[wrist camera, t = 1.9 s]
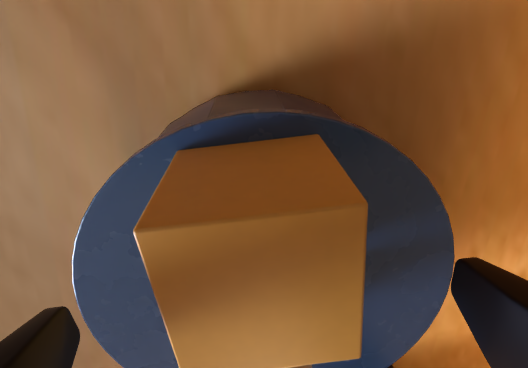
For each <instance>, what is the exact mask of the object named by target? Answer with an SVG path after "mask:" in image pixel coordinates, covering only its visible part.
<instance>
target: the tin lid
mask: <svg viewBox="0 0 528 368" xmlns="http://www.w3.org/2000/svg"><path fill="white" fill-rule="evenodd" d="M314 134H318V135H319V136H320V137H321V138H322V140H323V141H324V143H325V144H326V145H327V147H328V148H329V149H330V151H331V152H332V154H333V155H334V156H335V158H336V159H337V161H338V162H339V163H340V165H341V166H342V168H343V169H344V170H345V172H346V173H347V175H348V176H349V177H350V179H351V180H352V182H353V183H354V184H355V186H356V187H357V189H358V190H359V191H360V193H361V194H362V196H363V197H364V198H365V200H366V201H367V203H368V217H367V239H366V262H365V284H364V306H363V329H362V351H361V358H359V359H352V360H343V361H335V362H327V363H318V364H310V365H302V366H294V367H285V368H388V367H389V366H391V365H392V364H393V363H394V362H396V361H397V360H398V359H399V358H401V357H402V356H403V355H404V354H405V353H406V352H407V351H408V350H409V349H410V348H411V347H413V346H414V345H415V344H416V343H417V342H418V340H419V339H420V338H421V337H422V335H423V334H424V333H425V332H426V330H427V329H428V328H429V327H430V325H431V324H432V322H433V320H434V319H435V317H436V315H437V314H438V312H439V311H440V308H441V306H442V304H443V302H444V299H445V297H446V295H447V292H448V289H449V285H450V281H451V278H452V273H453V264H454V240H453V233H452V229H451V225H450V220H449V216H448V214H447V212H446V209H445V207H444V205H443V202H442V200H441V198H440V196H439V194H438V193H437V191H436V190H435V188H434V187H433V185H432V183H431V182H430V180H429V179H428V177H427V176H426V175H425V174H424V173H423V172H422V171H421V170H420V169H419V168H418V167H417V166H416V165H415V164H414V162H413V161H412V160H411V159H409V158H408V157H407V156H405V155H404V154H403V153H402V152H400V151H399V150H398V149H396V148H395V147H394V146H392V145H391V144H390V143H389V142H387V141H386V140H384V139H383V138H381V137H379V136H377V135H375V134H373V133H372V132H370V131H368V130H366V129H364V128H363V127H360V126H358V125H355V124H352V123H350V122H347V121H344V120H342V119H339V118H336V117H332V116H328V115H323V114H319V113H314V112H310V111H304V110H292V109H279V108H269V109H249V110H240V111H235V112H229V113H224V114H218V115H213V116H210V117H207V118H204V119H201V120H198V121H195V122H192V123H189V124H186V125H183V126H181V127H179V128H177V129H175V130H173V131H171V132H169V133H167V134H165V135H163V136H161V137H159V138H157V139H155V140H154V141H152V142H151V143H149V144H148V145H147V146H145V147H144V148H142V149H141V150H139V151H138V152H136V153H135V154H134V155H132V156H131V157H130V158H129V159H128V160H127V161H126V162H125V163H124V164H123V165H122V166H120V167H119V168H118V169H117V170H116V171H115V172H114V173H113V174H112V175H111V176H110V178H109V179H108V180H107V181H106V183H105V184H104V185H103V186H102V188H101V189H100V190H99V191H98V193H97V194H96V195H95V197H94V198H93V200H92V202H91V203H90V205H89V207H88V209H87V211H86V213H85V214H84V216H83V218H82V221H81V224H80V227H79V230H78V233H77V236H76V238H75V244H74V250H73V257H72V281H73V287H74V292H75V296H76V301H77V304H78V306H79V309H80V311H81V314H82V316H83V319H84V321H85V323H86V324H87V326H88V328H89V329H90V331H91V333H92V334H93V336H94V337H95V339H96V340H97V341H98V342H99V344H100V345H101V346H102V347H103V349H104V350H105V351H106V352H107V353H108V354H109V355H110V356H111V357H112V358H113V359H114V360H115V361H117V362H118V363H119V364H120V365H121V366H122V367H124V368H179V366H178V363H177V360H176V357H175V354H174V351H173V348H172V345H171V342H170V339H169V336H168V334H167V331H166V328H165V325H164V322H163V319H162V316H161V313H160V310H159V307H158V304H157V301H156V298H155V295H154V292H153V290H152V287H151V284H150V281H149V278H148V275H147V272H146V269H145V266H144V263H143V260H142V257H141V254H140V251H139V249H138V246H137V243H136V240H135V237H134V234H133V230H134V228H135V226H136V224H137V222H138V220H139V219H140V217H141V215H142V213H143V211H144V210H145V208H146V206H147V204H148V203H149V201H150V199H151V197H152V195H153V194H154V192H155V190H156V188H157V186H158V185H159V183H160V181H161V179H162V177H163V176H164V174H165V172H166V170H167V168H168V167H169V165H170V163H171V161H172V159H173V158H174V156H175V154H176V152H177V151H179V150H186V149H195V148H203V147H212V146H220V145H229V144H237V143H246V142H254V141H263V140H271V139H280V138H289V137H297V136H306V135H314Z"/></svg>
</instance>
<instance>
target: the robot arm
mask: <svg viewBox="0 0 528 368" xmlns="http://www.w3.org/2000/svg"><path fill="white" fill-rule="evenodd" d="M451 292H452V295H453V297H454V299H455V301H456V303H457V305H458V307H459V309H460V311H461V313H462V315H463V317H464V318H465V320H466V322H467V324H468V326H469V328H470V330H471V332H472V334H473V336H474V338H475V339H476V341H477V343H478V345H479V347H480V349H481V351H482V353H483V354H484V356H485V358H486V360H487V362H488V363H489V365H490V366H491V368H528V281H527V280H525V279H523V278H521V277H519V276H517V275H514V274H512V273H510V272H508V271H506V270H504V269H501V268H499V267H497V266H495V265H493V264H491V263H488V262H486V261H484V260H482V259H480V258H476V257H472V258H463V259H459V260H457V262H456V263H455V267H454V272H453V277H452V282H451ZM79 341H80V332H79V329H78V327H77V325H76V323H75V321H74V319H73V317H72V315H71V313H70V311H69V310H68V309H67V308H66V307H63V306H62V307H53V308H47V309H45V310H43V311H42V312H40V313H39V314H37V315H36V316H35V317H33V318H32V319H31V320H29V321H28V322H27V323H25V324H24V325H22V326H21V327H20V328H18V329H17V330H16V331H14V332H13V333H12V334H10V335H9V336H7V337H6V338H5V339H3V340H2V341H1V342H0V368H72V365H73V361H74V358H75V355H76V351H77V348H78V345H79ZM388 368H393V366H392V365H391V366H389V367H388Z"/></svg>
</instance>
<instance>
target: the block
mask: <svg viewBox="0 0 528 368" xmlns="http://www.w3.org/2000/svg"><path fill="white" fill-rule="evenodd" d="M367 217H368V203H367V201H366V200H365V198H364V197H363V196H362V194H361V193H360V191H359V190H358V189H357V187H356V186H355V184H354V183H353V182H352V180H351V179H350V177H349V176H348V175H347V173H346V172H345V170H344V169H343V168H342V166H341V165H340V163H339V162H338V161H337V159H336V158H335V156H334V155H333V154H332V152H331V151H330V149H329V148H328V147H327V145H326V144H325V143H324V141H323V140H322V138H321V137H320V136H319V135H318V134H314V135H306V136H297V137H289V138H280V139H271V140H263V141H254V142H246V143H237V144H229V145H220V146H212V147H203V148H195V149H186V150H179V151H177V152H176V154H175V156H174V158H173V159H172V161H171V163H170V165H169V167H168V168H167V170H166V172H165V174H164V176H163V177H162V179H161V181H160V183H159V185H158V186H157V188H156V190H155V192H154V194H153V195H152V197H151V199H150V201H149V203H148V204H147V206H146V208H145V210H144V211H143V213H142V215H141V217H140V219H139V220H138V222H137V224H136V226H135V228H134V230H133V234H134V237H135V240H136V243H137V246H138V249H139V251H140V254H141V257H142V260H143V263H144V266H145V269H146V272H147V275H148V278H149V281H150V284H151V287H152V290H153V292H154V295H155V298H156V301H157V304H158V307H159V310H160V313H161V316H162V319H163V322H164V325H165V328H166V331H167V334H168V336H169V339H170V342H171V345H172V348H173V351H174V354H175V357H176V360H177V363H178V366H179V368H285V367H294V366H302V365H310V364H318V363H327V362H335V361H343V360H352V359H359V358H361V351H362V329H363V306H364V284H365V262H366V239H367Z"/></svg>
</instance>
